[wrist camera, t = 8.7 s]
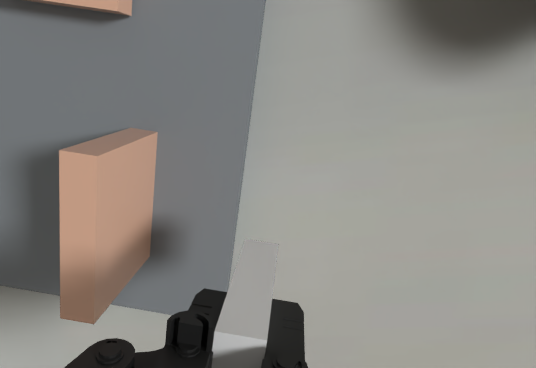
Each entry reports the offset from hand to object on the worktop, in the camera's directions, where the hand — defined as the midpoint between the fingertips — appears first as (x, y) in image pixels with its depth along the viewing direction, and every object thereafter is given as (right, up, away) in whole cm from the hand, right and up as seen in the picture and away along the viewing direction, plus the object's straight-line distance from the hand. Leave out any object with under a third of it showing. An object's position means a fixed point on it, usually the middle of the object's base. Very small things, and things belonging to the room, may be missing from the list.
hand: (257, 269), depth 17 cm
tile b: (-7, +3, +6) cm, 10 cm away
